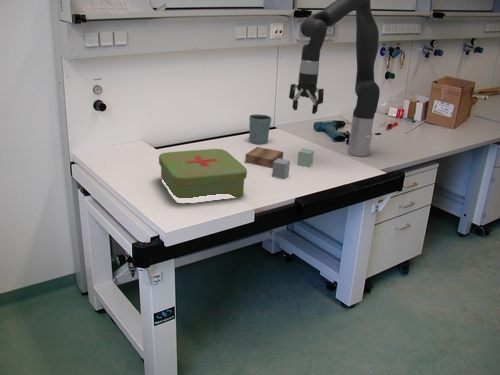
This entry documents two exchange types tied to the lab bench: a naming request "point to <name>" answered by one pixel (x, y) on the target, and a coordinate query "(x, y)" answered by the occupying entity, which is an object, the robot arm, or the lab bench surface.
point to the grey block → (281, 168)
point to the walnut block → (263, 157)
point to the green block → (305, 157)
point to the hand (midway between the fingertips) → (304, 111)
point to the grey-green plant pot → (259, 128)
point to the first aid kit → (202, 173)
